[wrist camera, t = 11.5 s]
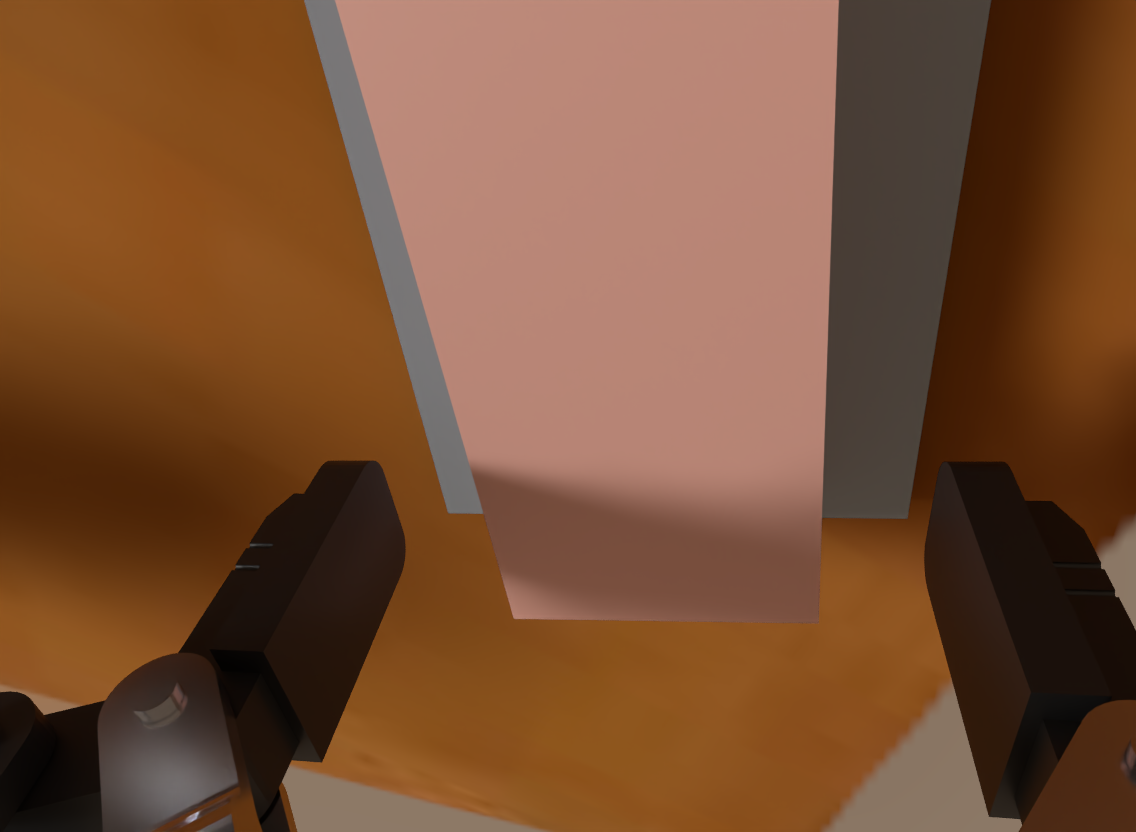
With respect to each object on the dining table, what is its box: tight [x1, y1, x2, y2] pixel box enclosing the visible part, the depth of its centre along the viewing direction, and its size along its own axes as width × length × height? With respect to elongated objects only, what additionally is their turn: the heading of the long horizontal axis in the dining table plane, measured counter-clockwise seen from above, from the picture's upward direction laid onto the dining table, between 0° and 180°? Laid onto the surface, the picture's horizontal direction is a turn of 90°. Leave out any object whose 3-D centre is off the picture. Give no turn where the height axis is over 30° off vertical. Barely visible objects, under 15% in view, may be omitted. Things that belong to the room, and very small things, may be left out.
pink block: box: [335, 0, 839, 623], centre depth 11 cm, size 14×5×3 cm, turn 9°
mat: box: [304, 0, 991, 519], centre depth 12 cm, size 15×9×1 cm, turn 7°
